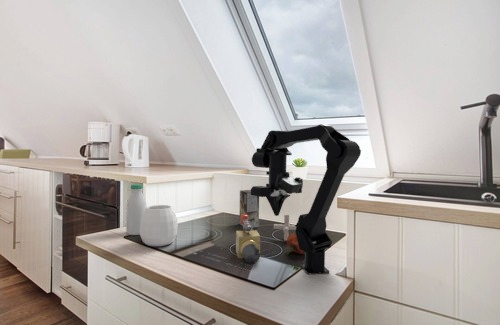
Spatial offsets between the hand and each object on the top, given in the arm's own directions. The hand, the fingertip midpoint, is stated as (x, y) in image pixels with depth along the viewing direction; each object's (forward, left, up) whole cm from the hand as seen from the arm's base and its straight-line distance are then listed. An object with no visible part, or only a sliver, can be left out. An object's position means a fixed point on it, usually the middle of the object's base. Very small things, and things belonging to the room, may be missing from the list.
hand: (276, 215), depth 98 cm
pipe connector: (+15, -8, -13) cm, 22 cm away
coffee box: (+39, +3, -13) cm, 41 cm away
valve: (+1, +9, -13) cm, 16 cm away
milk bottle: (+31, +51, -13) cm, 61 cm away
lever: (+7, +9, -6) cm, 13 cm away
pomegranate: (0, -7, -13) cm, 15 cm away
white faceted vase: (+16, +40, -13) cm, 45 cm away
